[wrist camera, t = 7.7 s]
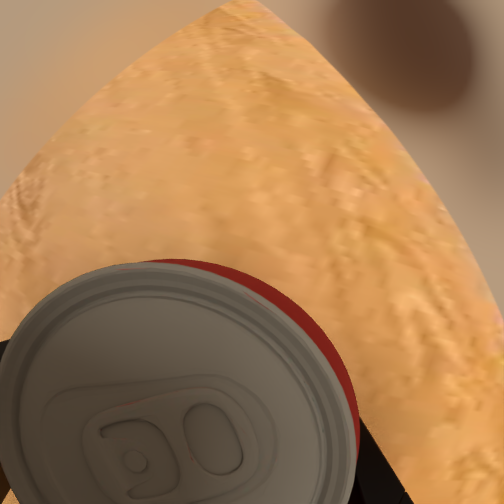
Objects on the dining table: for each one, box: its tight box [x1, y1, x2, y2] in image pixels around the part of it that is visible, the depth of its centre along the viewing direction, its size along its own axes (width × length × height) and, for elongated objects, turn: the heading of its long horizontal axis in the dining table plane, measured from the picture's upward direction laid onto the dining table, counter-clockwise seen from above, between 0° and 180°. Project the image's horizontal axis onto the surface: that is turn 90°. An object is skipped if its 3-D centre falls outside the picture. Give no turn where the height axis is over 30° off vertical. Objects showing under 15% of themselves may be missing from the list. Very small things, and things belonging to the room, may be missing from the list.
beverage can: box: [0, 259, 360, 504], centre depth 9 cm, size 7×7×12 cm
